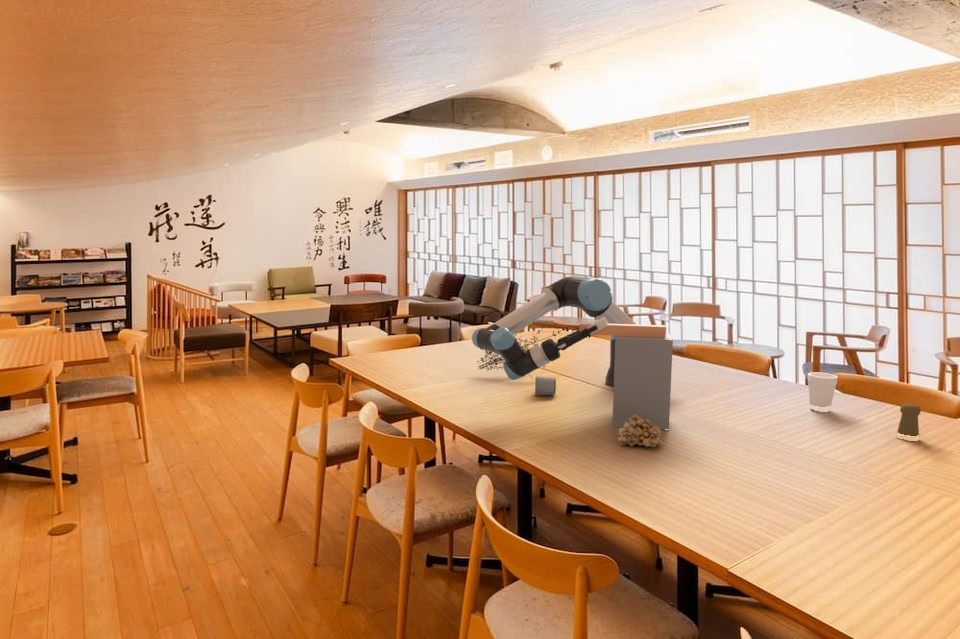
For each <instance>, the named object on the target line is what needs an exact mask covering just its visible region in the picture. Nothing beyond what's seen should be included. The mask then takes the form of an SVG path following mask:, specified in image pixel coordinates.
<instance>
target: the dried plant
mask: <svg viewBox="0 0 960 639" xmlns="http://www.w3.org/2000/svg"><path fill="white" fill-rule="evenodd" d="M532 324H533V323H531V324H530V325H528V328H530V327H531V325H532ZM544 324H546V321H545V322H544ZM543 328H545V326H544V327H542V324H541V328H540V329H538V330H537V333H536V334H535V335H533V338H530V341H528V339H527V338H526V339H522V338H521V337H519V338H517V337H516V336H517V333H518V332H517V333H516V334H514V337H515V339H516V340H517V341H518V343H519V344H520V346H521V347H522V348H523V350H524V351H526V350H528V349H530V348H531V347H529V346H531V345H533V346H532V347H534V346H536V345H538V344H539V343H538V342H541V341H542V340H543V341H544V340H545V339H546V340H547V339H549V338H551V337H554V339H555V340H556V337H557V334H559V335H560V336H561V335H562V334H561V332H562V330H560V328H558V329H557V333H555V330H553V331H552V335H550V336H548V337H544V338H542V339H538V336H537V335H539V334H540V333H541V332H540V331H543ZM567 330H568V328H567V329H566V328H565V327H563V331H564V332H565V333H566V331H567ZM532 340H533V341H532ZM522 342H524V345H522ZM556 342H558V341H554V343H556ZM484 351H485V355H484V357H480V360H477V361H476V364H478V365H479V366H478V368H479V370H483V369H484V368H485V369H486V372H489V370H490V371H492V370H493V369H494V370H495V369H496V370H498V369H501V370H504V367H503V366H501V364H502V365H503V364H504V362H505V360H504V359H503V357H502V356H501V355H500V354H497V353H494V355H493V352H490V351H486V350H484ZM487 358H488V359H487ZM484 359H485V360H484ZM481 363H483V364H481ZM497 365H498V366H497ZM528 376H529V377H532V375H531V374H528ZM533 379H535V380H536V377H535V378H533Z"/></svg>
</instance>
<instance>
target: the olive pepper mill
mask: <svg viewBox="0 0 960 639" xmlns="http://www.w3.org/2000/svg"><path fill="white" fill-rule="evenodd" d="M899 408H900V410H899V411H900V413H901V417H900V420H899V424H898V427H897V431H896V433H897V432H898V433H900V434H904V435H910V436H917V435H919V436H920V432H919V431H920V430H919V415H920V414H921V411H922V410H921V406H919V405H917V404H914V403H903V404H902V405H900V407H899Z"/></svg>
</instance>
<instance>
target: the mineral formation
mask: <svg viewBox="0 0 960 639" xmlns="http://www.w3.org/2000/svg"><path fill="white" fill-rule="evenodd" d="M661 433H662V432H661V430H660V428H659V427H658V426H654V425H652V424H651V423H650V421H649V420H648V419H646V420H645V419H644V420H643V419H642V418H641V417H639V416H638V417H637V415H633V416H632V417H631V418H629V419H628V421H626V422H624V424H623V426H622V427H619V428H618V435H619V436H620V437H618V439H617V440H618V441H619V444H620V446H627V445H628V446H630V447H634V446H635V445H638V446H644V447H645V448H652V447H653V449H654V447H655V448H656V447H657V445H659V446H662V445H664V441H663V440H662V439H660V435H661Z"/></svg>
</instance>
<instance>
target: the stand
mask: <svg viewBox="0 0 960 639" xmlns="http://www.w3.org/2000/svg"><path fill="white" fill-rule="evenodd" d="M673 342H674V340H673V337H672V334H671V333H666V338H663V337H637V336H615V363H614V386H613V395H612V396H613V398H612V399H613V401H612V427H614V426H617V428H622V426H623V424H624V422H626V421H628V419H629V418H631V417H632V416H633V415H637V417H638V416H639V417H641V418H642V419H643V420H644V419H645V420H646V419H648V420H649V421H650V423H651V424H652V425H654V426H658V427H659V428H660V429H669V430H670V414H671V413H670V412H671V409H670V408H671V392H672V391H671V390H672V389H671V388H672V367H673V363H672V362H673V348H674V347H673V344H674V343H673Z"/></svg>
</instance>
